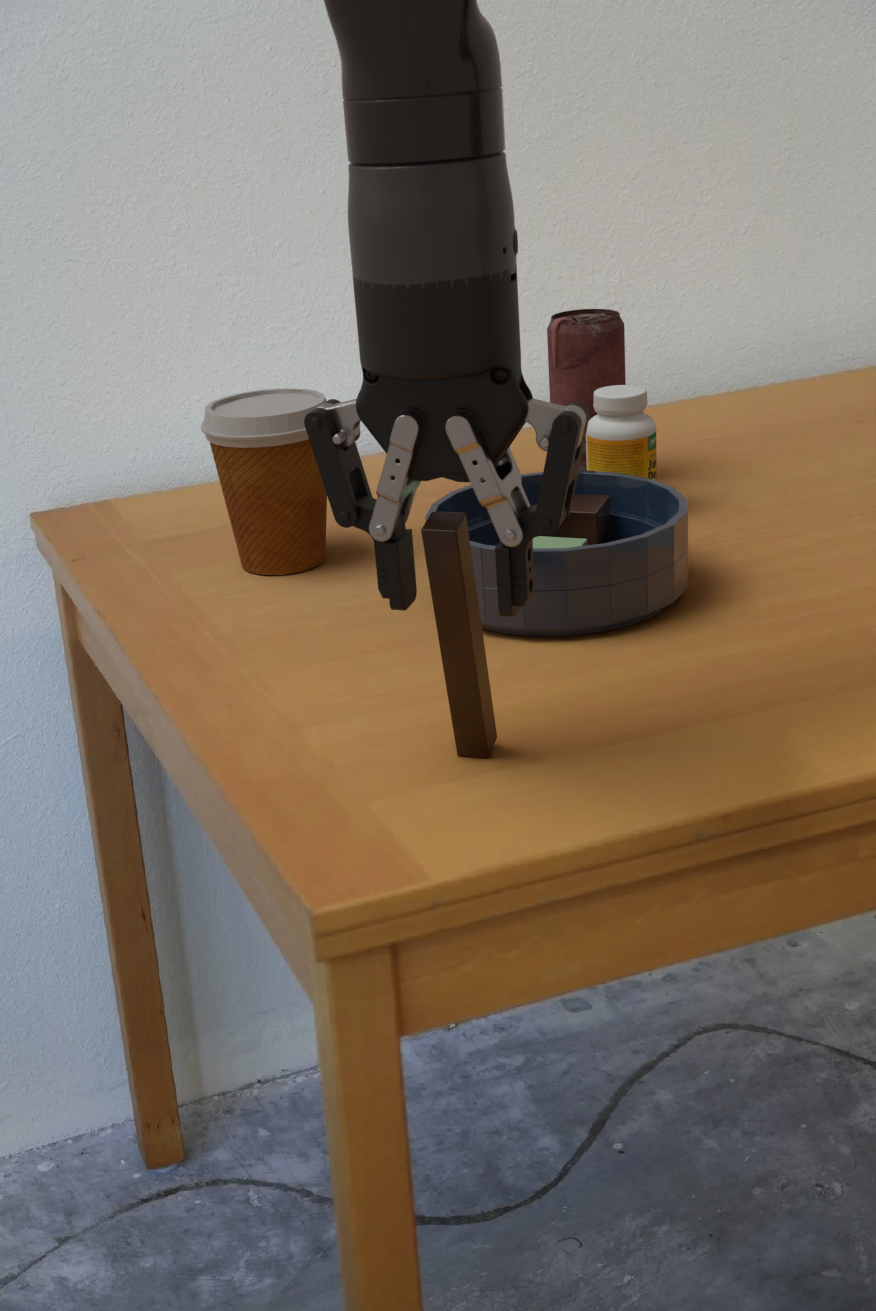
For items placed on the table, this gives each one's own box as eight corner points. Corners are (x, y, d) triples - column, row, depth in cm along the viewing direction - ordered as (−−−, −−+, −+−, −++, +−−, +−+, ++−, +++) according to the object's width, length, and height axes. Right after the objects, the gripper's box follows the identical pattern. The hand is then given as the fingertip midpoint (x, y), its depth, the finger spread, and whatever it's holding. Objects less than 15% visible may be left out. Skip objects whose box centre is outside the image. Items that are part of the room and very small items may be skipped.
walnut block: (612, 549, 105) (610, 495, 103) (598, 568, 101) (596, 512, 100) (557, 546, 106) (555, 493, 105) (542, 565, 103) (539, 510, 101)
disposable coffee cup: (326, 532, 115) (311, 380, 111) (363, 568, 107) (348, 405, 102) (207, 554, 113) (186, 399, 108) (235, 592, 104) (214, 426, 100)
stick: (498, 737, 79) (466, 511, 72) (489, 759, 78) (455, 531, 70) (466, 735, 80) (431, 510, 72) (456, 756, 79) (420, 529, 71)
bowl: (741, 601, 96) (742, 513, 94) (510, 664, 89) (505, 570, 87) (598, 534, 110) (596, 456, 108) (390, 584, 104) (383, 502, 101)
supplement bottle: (585, 503, 118) (581, 384, 114) (653, 499, 117) (651, 379, 114) (590, 525, 113) (587, 401, 109) (661, 520, 112) (659, 396, 109)
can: (536, 487, 123) (528, 317, 117) (588, 469, 126) (583, 303, 121) (590, 499, 118) (584, 324, 113) (642, 480, 122) (639, 310, 117)
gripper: (256, 278, 66) (296, 628, 73) (568, 272, 62) (580, 646, 68) (320, 252, 73) (351, 576, 79) (606, 245, 68) (614, 588, 75)
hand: (457, 606), depth 74 cm, fingers open, 5 cm apart
